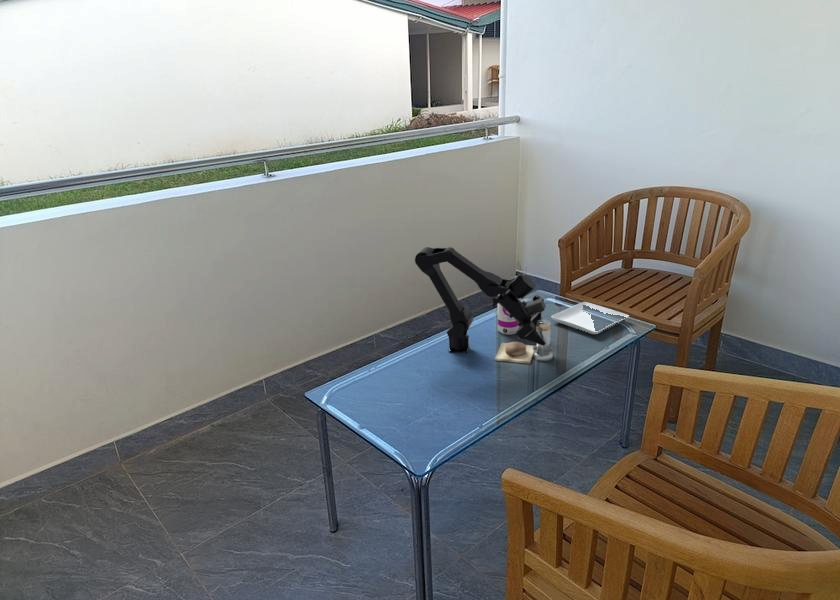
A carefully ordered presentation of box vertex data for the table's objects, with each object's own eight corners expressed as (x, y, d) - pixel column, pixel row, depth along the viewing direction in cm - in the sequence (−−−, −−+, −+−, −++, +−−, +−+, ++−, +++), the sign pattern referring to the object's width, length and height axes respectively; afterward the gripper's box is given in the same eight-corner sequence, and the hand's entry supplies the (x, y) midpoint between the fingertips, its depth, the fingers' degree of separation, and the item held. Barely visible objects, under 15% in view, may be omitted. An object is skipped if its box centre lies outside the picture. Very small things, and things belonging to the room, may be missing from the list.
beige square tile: (494, 360, 205) (494, 352, 204) (502, 344, 216) (501, 337, 214) (530, 363, 201) (530, 355, 200) (535, 347, 212) (535, 340, 211)
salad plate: (583, 307, 242) (583, 300, 241) (630, 322, 227) (630, 314, 225) (549, 323, 230) (549, 315, 229) (595, 340, 215) (596, 332, 213)
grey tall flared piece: (531, 360, 204) (532, 325, 199) (534, 351, 209) (535, 317, 204) (551, 362, 201) (552, 327, 197) (554, 353, 207) (554, 319, 202)
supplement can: (521, 334, 222) (521, 297, 217) (498, 335, 223) (498, 298, 217) (518, 325, 230) (518, 289, 224) (496, 326, 230) (496, 290, 224)
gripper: (526, 302, 190) (561, 336, 190) (535, 281, 206) (567, 313, 206) (502, 323, 195) (535, 356, 196) (512, 301, 211) (544, 332, 212)
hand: (546, 338), depth 202 cm, fingers open, 9 cm apart
